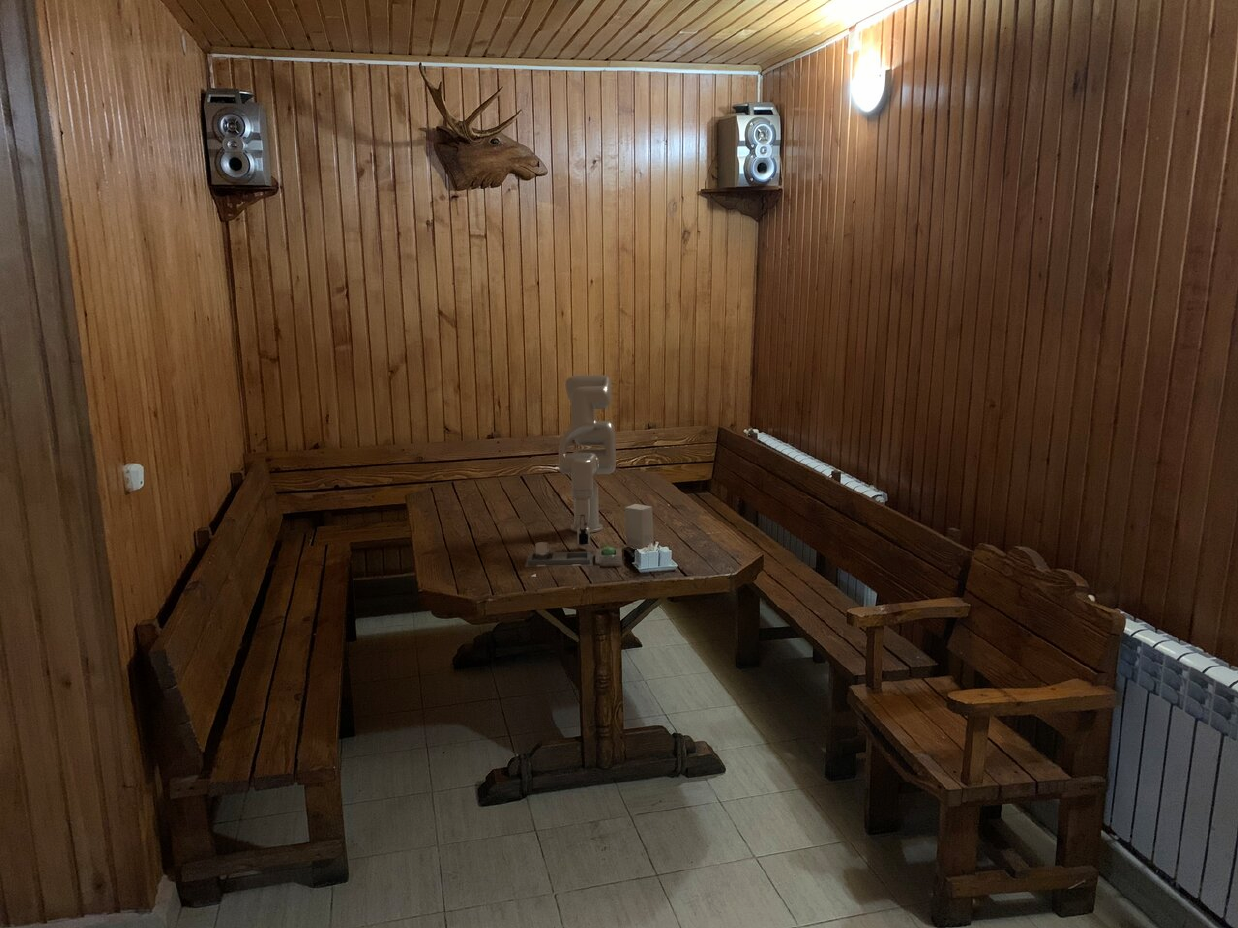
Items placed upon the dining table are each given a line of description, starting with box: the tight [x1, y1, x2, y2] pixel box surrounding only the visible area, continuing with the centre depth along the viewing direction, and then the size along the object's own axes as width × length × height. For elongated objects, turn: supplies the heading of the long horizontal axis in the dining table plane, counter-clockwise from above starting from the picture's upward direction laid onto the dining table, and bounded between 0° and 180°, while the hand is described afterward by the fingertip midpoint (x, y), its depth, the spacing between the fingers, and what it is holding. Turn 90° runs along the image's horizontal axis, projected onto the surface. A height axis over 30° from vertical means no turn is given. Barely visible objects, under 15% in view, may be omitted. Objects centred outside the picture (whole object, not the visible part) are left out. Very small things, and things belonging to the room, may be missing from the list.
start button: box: [602, 546, 615, 555], centre depth 311 cm, size 4×4×3 cm
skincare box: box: [624, 503, 654, 548], centre depth 326 cm, size 8×7×16 cm
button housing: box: [595, 547, 623, 567], centre depth 311 cm, size 9×9×4 cm
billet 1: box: [534, 541, 550, 560], centre depth 311 cm, size 4×4×6 cm
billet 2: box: [576, 526, 591, 547], centre depth 322 cm, size 4×4×6 cm
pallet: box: [524, 551, 594, 568], centre depth 311 cm, size 13×23×2 cm, turn 90°
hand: (583, 541), depth 322 cm, fingers closed on billet 2, 4 cm apart
